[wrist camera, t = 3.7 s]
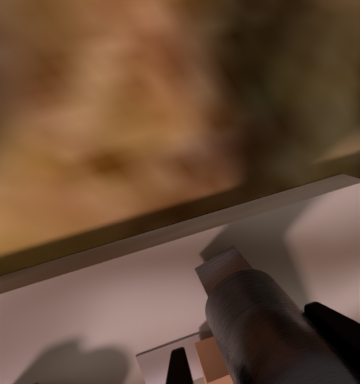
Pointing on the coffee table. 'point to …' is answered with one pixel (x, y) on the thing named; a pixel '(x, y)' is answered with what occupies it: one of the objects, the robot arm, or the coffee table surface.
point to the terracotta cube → (212, 362)
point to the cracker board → (173, 287)
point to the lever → (265, 328)
